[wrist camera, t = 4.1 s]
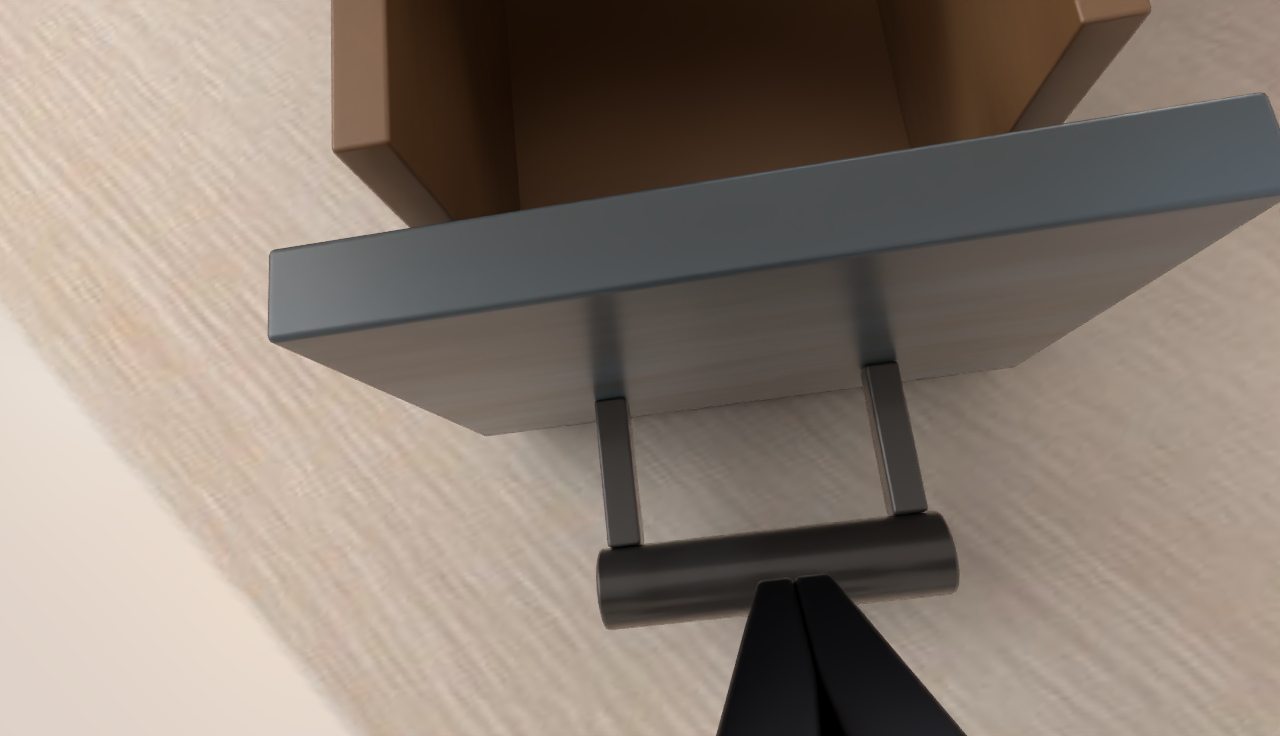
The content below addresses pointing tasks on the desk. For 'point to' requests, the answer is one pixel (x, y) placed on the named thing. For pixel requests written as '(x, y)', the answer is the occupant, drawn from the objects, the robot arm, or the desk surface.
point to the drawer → (744, 231)
